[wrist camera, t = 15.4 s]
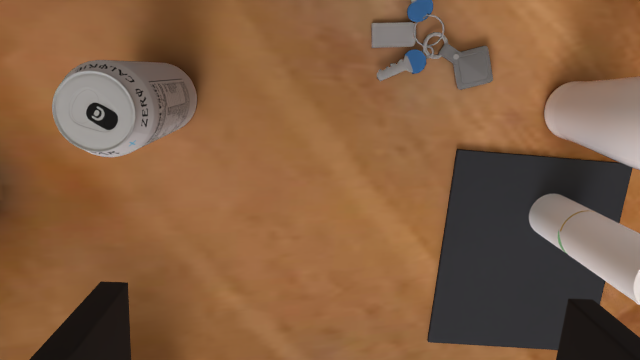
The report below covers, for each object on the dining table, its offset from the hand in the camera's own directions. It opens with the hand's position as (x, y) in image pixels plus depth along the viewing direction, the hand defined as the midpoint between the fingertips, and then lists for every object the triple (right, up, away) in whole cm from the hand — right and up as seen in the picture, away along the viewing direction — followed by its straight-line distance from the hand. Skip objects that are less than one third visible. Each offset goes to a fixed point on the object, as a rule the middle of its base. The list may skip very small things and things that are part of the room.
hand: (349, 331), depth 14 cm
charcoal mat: (+20, -3, +33) cm, 39 cm away
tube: (+21, +1, +32) cm, 39 cm away
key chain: (+8, +16, +28) cm, 33 cm away
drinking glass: (+22, +11, +30) cm, 39 cm away
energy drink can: (-15, +12, +29) cm, 34 cm away
